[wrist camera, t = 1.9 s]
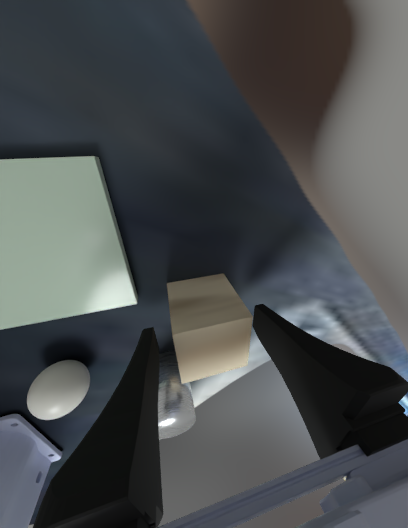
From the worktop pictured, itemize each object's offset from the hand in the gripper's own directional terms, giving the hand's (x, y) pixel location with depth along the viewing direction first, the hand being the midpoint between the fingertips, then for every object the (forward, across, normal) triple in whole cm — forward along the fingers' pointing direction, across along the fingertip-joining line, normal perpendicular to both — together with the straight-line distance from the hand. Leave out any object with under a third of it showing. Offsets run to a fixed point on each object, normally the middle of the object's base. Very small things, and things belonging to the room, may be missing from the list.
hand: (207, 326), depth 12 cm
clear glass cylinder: (+3, +4, +7) cm, 8 cm away
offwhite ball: (+1, +11, +4) cm, 12 cm away
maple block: (+3, 0, 0) cm, 3 cm away
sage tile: (+3, +9, -6) cm, 11 cm away
